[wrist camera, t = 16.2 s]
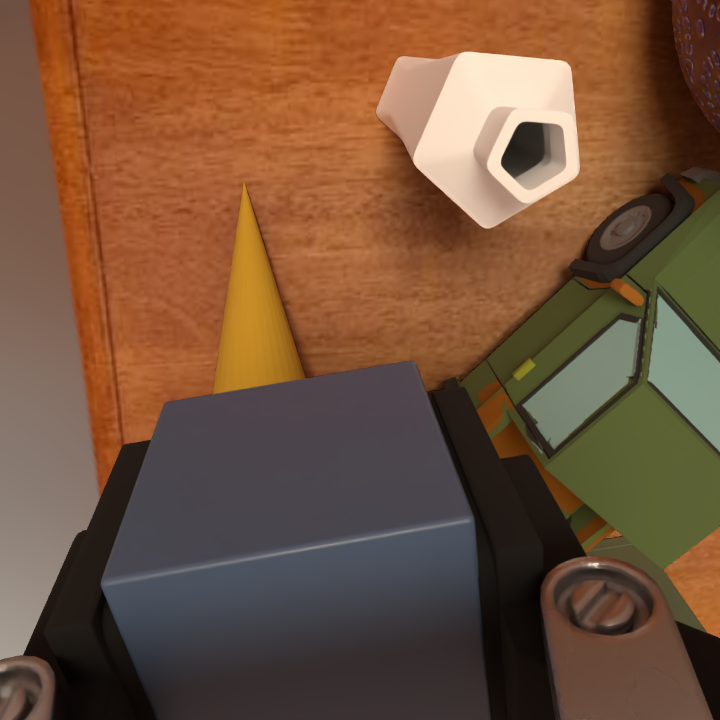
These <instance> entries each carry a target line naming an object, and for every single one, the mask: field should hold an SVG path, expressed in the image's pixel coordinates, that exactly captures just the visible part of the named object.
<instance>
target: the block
mask: <svg viewBox="0 0 720 720" xmlns="http://www.w3.org/2000/svg"><path fill="white" fill-rule="evenodd" d="M478 569H479V560H478V549H477V538H476V527H475V518H474V516H473V513H472V510H471V508H470V505H469V502H468V500H467V497H466V494H465V492H464V489H463V486H462V484H461V481H460V479H459V476H458V473H457V471H456V468H455V465H454V463H453V460H452V457H451V455H450V452H449V450H448V447H447V444H446V442H445V439H444V436H443V434H442V431H441V428H440V426H439V423H438V421H437V418H436V415H435V413H434V410H433V407H432V405H431V402H430V399H429V397H428V394H427V391H426V389H425V386H424V384H423V381H422V378H421V376H420V373H419V370H418V368H417V365H416V363H415V362H414V361H405V362H399V363H393V364H387V365H381V366H375V367H369V368H363V369H358V370H352V371H346V372H340V373H334V374H328V375H322V376H316V377H311V378H305V379H299V380H293V381H287V382H281V383H275V384H269V385H263V386H258V387H252V388H246V389H240V390H234V391H228V392H222V393H216V394H211V395H205V396H199V397H193V398H187V399H181V400H175V401H169V402H166V403H165V404H164V405H163V408H162V411H161V414H160V417H159V419H158V422H157V425H156V428H155V431H154V433H153V436H152V439H151V442H150V445H149V447H148V450H147V453H146V456H145V459H144V461H143V464H142V467H141V470H140V473H139V475H138V478H137V481H136V484H135V487H134V489H133V492H132V495H131V498H130V501H129V503H128V506H127V509H126V512H125V515H124V517H123V520H122V523H121V526H120V529H119V531H118V534H117V537H116V540H115V543H114V545H113V548H112V551H111V554H110V557H109V559H108V562H107V565H106V568H105V571H104V573H103V576H102V579H101V587H102V590H103V592H104V595H105V597H106V599H107V602H108V604H109V607H110V609H111V612H112V614H113V617H114V619H115V621H116V624H117V626H118V629H119V631H120V634H121V636H122V639H123V640H124V642H125V644H126V647H127V649H128V652H129V654H130V657H131V659H132V662H133V664H134V667H135V669H136V671H137V674H138V676H139V679H140V681H141V684H142V686H143V689H144V691H145V694H146V696H147V698H148V701H149V703H150V706H151V708H152V711H153V713H154V716H155V718H156V720H491V713H490V702H489V691H488V680H487V669H486V659H485V648H484V637H483V626H482V615H481V604H480V594H479V583H478V577H479V571H478Z"/></svg>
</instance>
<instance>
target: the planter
mask: <svg viewBox="0 0 720 720" xmlns="http://www.w3.org/2000/svg"><path fill="white" fill-rule="evenodd" d="M672 22H673V31H674V39H675V45H676V50H677V55H678V59H679V63H680V66H681V70H682V73H683V76H684V78H685V81H686V83H687V86H688V88H689V90H690V92H691V95H692V96H693V98H694V100H695V102H696V104H697V105H698V107H699V109H700V110H701V112H702V113H703V114H704V116H705V117H706V119H707V120H708V121H709V122H710V124H711V125H712V126H713V127H714V128H715V129H716V130H717V131H718V132H719V133H720V0H672Z"/></svg>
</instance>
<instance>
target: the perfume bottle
mask: <svg viewBox="0 0 720 720" xmlns="http://www.w3.org/2000/svg"><path fill="white" fill-rule="evenodd" d="M376 115H377V117H378V118H379V119H380V120H381V121H382V122H383V123H384V124H385V125H386V126H387V127H389V128H390V129H391V130H392V131H393V132H394V133H395V134H396V135H397V136H398V137H399V138H401V139H402V141H403V143H404V145H405V147H406V149H407V151H408V153H409V155H410V157H411V159H412V161H413V163H414V164H415V166H416V167H417V168H418V169H419V170H420V171H421V172H422V173H423V174H424V175H425V176H426V177H427V178H428V179H430V180H431V181H432V182H433V183H434V184H435V185H436V186H437V187H438V188H439V189H441V190H442V191H443V192H444V193H445V194H446V195H447V196H448V197H449V198H450V199H452V200H453V201H454V202H455V203H456V204H457V205H458V206H459V207H460V208H461V209H462V210H464V211H465V212H466V213H467V214H468V215H469V216H470V217H471V218H472V219H473V220H475V221H476V222H477V223H478V224H479V225H480V226H482V227H483V228H488V229H490V228H492V227H495V226H496V225H498V224H500V223H501V222H503V221H505V220H506V219H508V218H510V217H511V216H513V215H515V214H516V213H518V212H520V211H521V210H523V209H525V208H526V207H528V206H530V205H532V204H533V203H535V202H537V201H538V200H540V199H542V198H543V197H545V196H547V195H548V194H550V193H552V192H553V191H555V190H557V189H558V188H560V187H562V186H563V185H565V184H567V183H568V182H570V181H572V180H573V179H574V178H575V177H576V176H577V175H578V173H579V170H580V162H579V150H578V139H577V127H576V116H575V105H574V93H573V82H572V72H571V68H570V66H569V65H568V63H567V62H564V61H560V60H549V59H539V58H529V57H518V56H508V55H497V54H487V53H476V52H463V53H459V54H456V55H452V56H448V57H445V58H441V59H428V58H418V57H407V56H402V57H399V58H398V59H397V60H396V62H395V65H394V67H393V70H392V72H391V74H390V77H389V79H388V82H387V84H386V87H385V89H384V92H383V94H382V97H381V99H380V102H379V104H378V107H377V110H376Z"/></svg>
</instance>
